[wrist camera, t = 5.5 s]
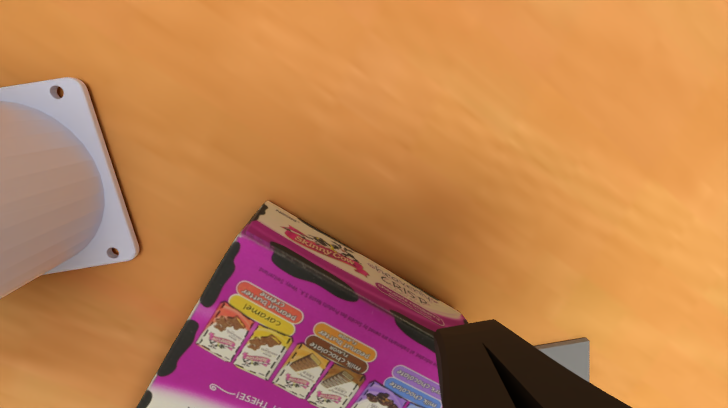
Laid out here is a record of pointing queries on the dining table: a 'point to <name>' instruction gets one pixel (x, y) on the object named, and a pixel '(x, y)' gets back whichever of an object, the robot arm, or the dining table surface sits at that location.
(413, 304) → the candy bar box
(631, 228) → the dining table surface
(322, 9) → the dining table surface
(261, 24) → the dining table surface
